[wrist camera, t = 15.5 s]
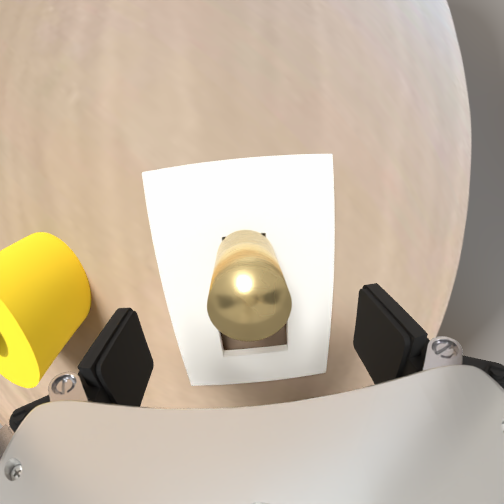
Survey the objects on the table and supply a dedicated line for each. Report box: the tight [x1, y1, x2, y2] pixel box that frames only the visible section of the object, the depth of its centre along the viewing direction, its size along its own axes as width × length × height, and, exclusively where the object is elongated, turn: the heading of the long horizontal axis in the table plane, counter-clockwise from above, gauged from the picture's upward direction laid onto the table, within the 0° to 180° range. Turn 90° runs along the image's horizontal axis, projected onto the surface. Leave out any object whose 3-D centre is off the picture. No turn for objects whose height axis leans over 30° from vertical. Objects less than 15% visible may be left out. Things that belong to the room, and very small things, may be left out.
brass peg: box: [207, 230, 292, 341], centre depth 16 cm, size 4×4×9 cm
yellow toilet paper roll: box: [0, 232, 91, 388], centre depth 16 cm, size 10×10×9 cm
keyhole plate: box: [142, 154, 335, 386], centre depth 20 cm, size 18×12×2 cm, turn 5°
